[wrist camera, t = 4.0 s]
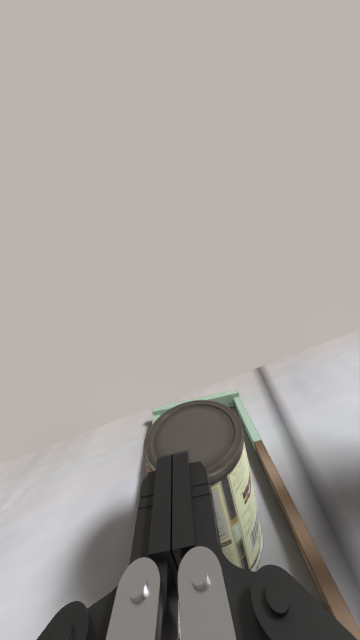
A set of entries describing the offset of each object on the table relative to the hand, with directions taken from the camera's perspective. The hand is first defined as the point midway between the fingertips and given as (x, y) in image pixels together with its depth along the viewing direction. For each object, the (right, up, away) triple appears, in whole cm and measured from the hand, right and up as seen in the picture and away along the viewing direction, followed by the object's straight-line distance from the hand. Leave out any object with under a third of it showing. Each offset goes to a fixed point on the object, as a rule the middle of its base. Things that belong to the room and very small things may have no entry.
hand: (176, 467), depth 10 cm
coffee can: (+5, -18, +15) cm, 24 cm away
